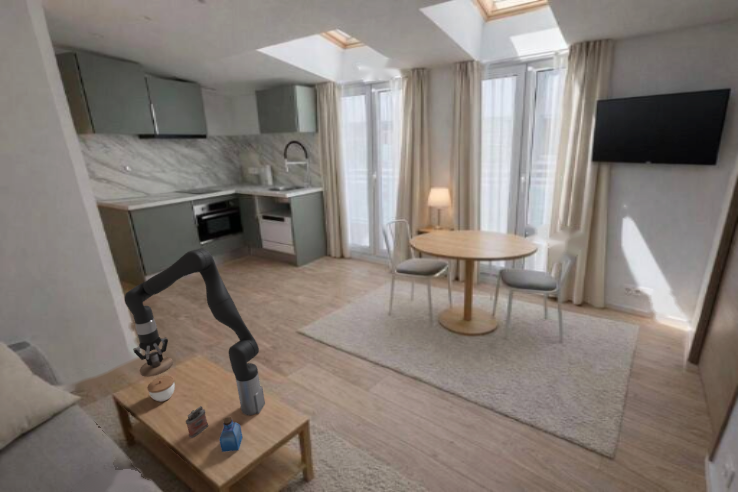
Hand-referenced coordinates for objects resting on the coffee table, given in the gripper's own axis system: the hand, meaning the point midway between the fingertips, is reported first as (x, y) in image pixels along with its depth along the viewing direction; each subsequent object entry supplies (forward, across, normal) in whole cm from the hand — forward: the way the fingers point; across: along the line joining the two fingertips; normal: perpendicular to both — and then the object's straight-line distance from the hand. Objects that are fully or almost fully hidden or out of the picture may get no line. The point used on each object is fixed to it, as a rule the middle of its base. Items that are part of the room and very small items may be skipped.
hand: (155, 362), depth 162 cm
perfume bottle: (+19, -13, +49) cm, 54 cm away
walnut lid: (+2, 0, 0) cm, 2 cm away
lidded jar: (+19, 0, 0) cm, 19 cm away
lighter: (+19, -6, +33) cm, 38 cm away
